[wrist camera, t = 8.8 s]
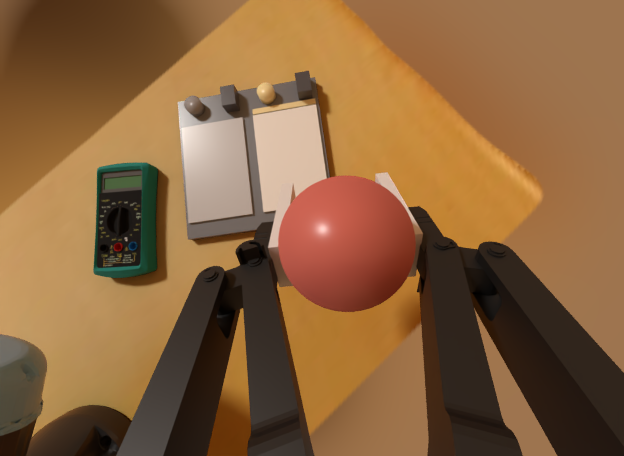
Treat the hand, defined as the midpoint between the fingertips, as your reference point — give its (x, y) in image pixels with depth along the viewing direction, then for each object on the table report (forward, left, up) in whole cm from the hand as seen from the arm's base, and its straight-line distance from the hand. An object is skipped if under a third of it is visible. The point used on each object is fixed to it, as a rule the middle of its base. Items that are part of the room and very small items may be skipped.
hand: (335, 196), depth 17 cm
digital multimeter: (-27, +4, -15) cm, 31 cm away
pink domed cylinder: (0, -4, -3) cm, 5 cm away
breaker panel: (-9, +10, -15) cm, 20 cm away
